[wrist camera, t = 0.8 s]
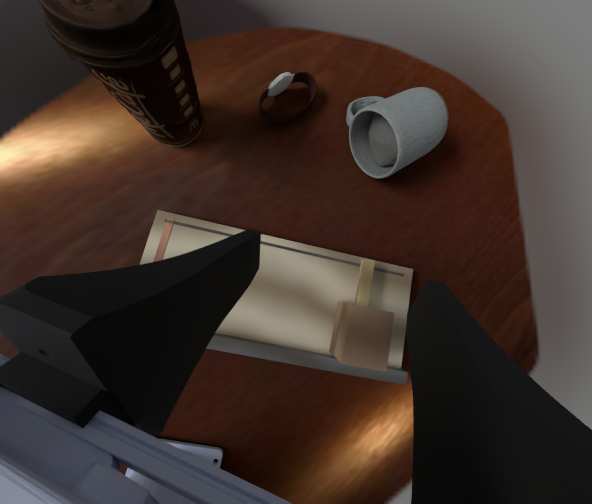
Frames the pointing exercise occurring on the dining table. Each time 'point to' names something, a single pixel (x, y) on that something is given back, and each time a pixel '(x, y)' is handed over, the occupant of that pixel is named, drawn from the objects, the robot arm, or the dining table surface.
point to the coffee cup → (134, 59)
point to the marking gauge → (362, 328)
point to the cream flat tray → (292, 297)
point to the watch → (282, 84)
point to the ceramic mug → (395, 129)
